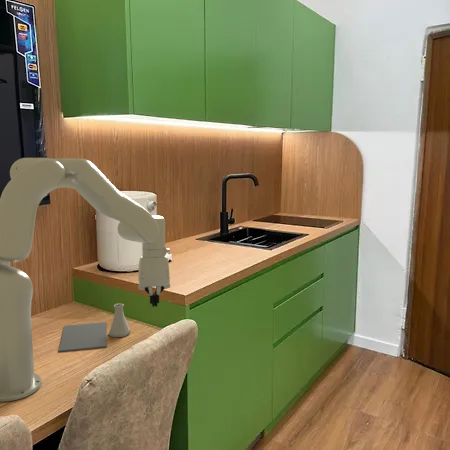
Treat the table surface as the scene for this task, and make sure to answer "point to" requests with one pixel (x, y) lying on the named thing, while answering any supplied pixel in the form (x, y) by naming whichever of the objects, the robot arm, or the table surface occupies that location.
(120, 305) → the flask
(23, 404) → the table surface
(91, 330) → the mat
